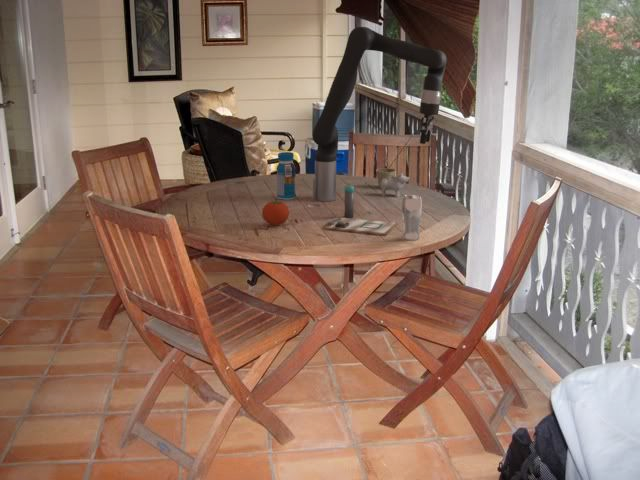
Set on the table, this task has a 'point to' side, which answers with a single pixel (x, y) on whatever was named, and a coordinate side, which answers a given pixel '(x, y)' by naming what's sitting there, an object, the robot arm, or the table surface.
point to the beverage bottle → (286, 176)
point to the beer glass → (411, 216)
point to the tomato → (275, 213)
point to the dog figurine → (394, 184)
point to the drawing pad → (360, 226)
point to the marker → (349, 202)
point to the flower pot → (384, 174)
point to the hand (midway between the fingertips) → (424, 142)
